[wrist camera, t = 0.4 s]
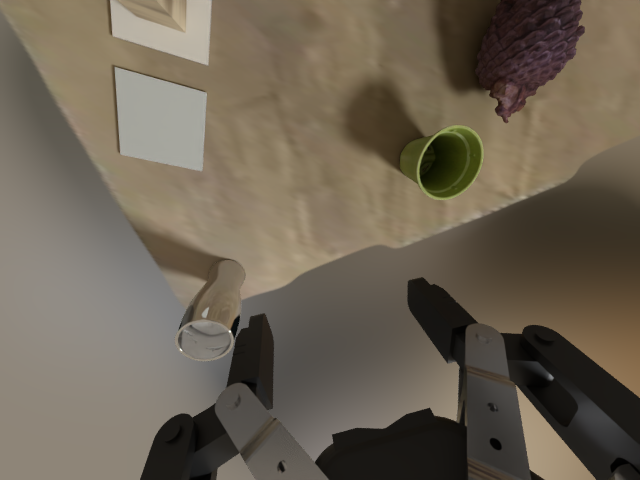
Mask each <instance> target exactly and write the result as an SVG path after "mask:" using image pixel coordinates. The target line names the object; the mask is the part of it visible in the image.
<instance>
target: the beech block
mask: <svg viewBox="0 0 640 480" xmlns="http://www.w3.org/2000/svg"><path fill="white" fill-rule="evenodd" d="M117 1H119V2H120V3H121V4H122V5H123V6H125V7H126V8H127V9H128V10H129V11H131V12H132V13H133V14H134V15H135V16H136V17H139V18H142V19H145V20H148V21H151V22H154V23H157V24H160V25H163V26H166V27H169V28H172V29H175V30H178V31H181V32H184V33H186V6H187V0H117Z"/></svg>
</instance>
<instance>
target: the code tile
mask: <svg viewBox="0 0 640 480" xmlns="http://www.w3.org/2000/svg"><path fill="white" fill-rule="evenodd" d="M110 4H111V19H112V34H113V36H114V37H116V38H119V39H122V40H125V41H129V42H132V43H135V44H139V45H142V46H145V47H148V48H152V49H155V50H158V51H161V52H165V53H168V54H171V55H174V56H178V57H181V58H184V59H187V60H191V61H194V62H197V63H200V64H204V65H207V66H208V62H209V44H210V26H211V9H212V0H187V6H186V33H184V32H181V31H178V30H175V29H172V28H169V27H166V26H163V25H160V24H157V23H154V22H151V21H148V20H145V19H142V18H139V17H136V16H135V15H134V14H133V13H132V12H131V11H129V10H128V9H127V8H126V7H125V6H123V5H122V4H121V3H120V2H119V1H117V0H110Z"/></svg>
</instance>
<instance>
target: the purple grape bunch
mask: <svg viewBox="0 0 640 480" xmlns="http://www.w3.org/2000/svg"><path fill="white" fill-rule="evenodd" d="M580 5H581V0H501V2H500V3H499V5H498V6H497V7H496V15H494V16H493V17H492V19H491V24H490V27H489V28H488V29H487V34H486V35H485V36H484V37H483V40H482V45H481V51H480V52H479V53H478V55H477V59H478V61H479V64H478V67H477V68H476V71H475V73H476V75H478V76H479V84H482V87H483V88H485V90H491V91H490V94H489V96H490V97H492V98H496V99H497V100H498V106H497V107H496V108H495V111H496V114H497V115H498V116H501V117H502V118H503V121H504V122H505V123H508V119H507V117H510V116H511V113H515V112H516V111H520V110H521V109H522V108H523V107H524V105H525V103H526V100H525V99H526V98H527V97H528V96H533V95H535V94H536V90H537V88H538V87H539V86H544V85H545V84H546V82H547V81H549V80H553V79H554V78H555V76H556V75H557V73H559V72H560V71H561V69H563V68H564V66H565V64H566V62H567V61H568V60H570V59H573V57H574V56H575V54H576V49H575V46H576V42H577V41H578V40H579V37H580V36H581V35H582V34H583V33H584V30H585V27H583V26H582V25H581V26H579V27H578V25H579V22H578V21H579V20H580V19H581V17H582V14H583V12H582V11H581V10H580Z"/></svg>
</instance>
